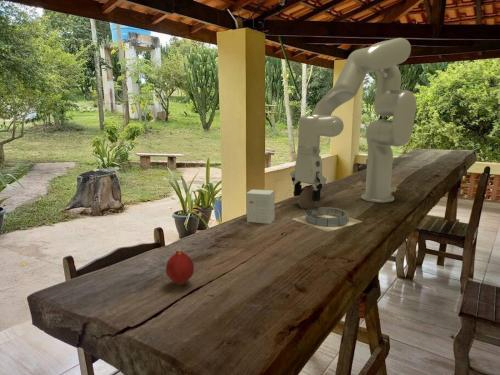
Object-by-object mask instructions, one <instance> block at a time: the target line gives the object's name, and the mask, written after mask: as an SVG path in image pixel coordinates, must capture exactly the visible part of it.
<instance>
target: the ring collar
mask: <svg viewBox="0 0 500 375" xmlns="http://www.w3.org/2000/svg"><path fill="white" fill-rule="evenodd" d="M304 214H305V215H304V216H305V220H306V221H307V222H308V223H310V224H313V225H316V226H324V227H338V226H342V225H346V224H347V223H348V221H349V218H350V212H348V211H346V210H345V209H342V208H337V207H331V206H329V207H326V206H322V207H320V206H318V207H317V206H316V208H312V209H308V210H307V209H306V211H305V212H304ZM318 215H329V216H336V217H337V218H324V217H317V216H318Z"/></svg>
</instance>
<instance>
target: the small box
mask: <svg viewBox="0 0 500 375" xmlns="http://www.w3.org/2000/svg"><path fill="white" fill-rule="evenodd" d="M245 195H246V200H245V201H246V225H251V223H258V224H269V225H271V224H272V223H273V222H274V221H275V219H276V218H275V212H276V211H275V190H267V189H250V190H249V191H247V192H246V193H245Z"/></svg>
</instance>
